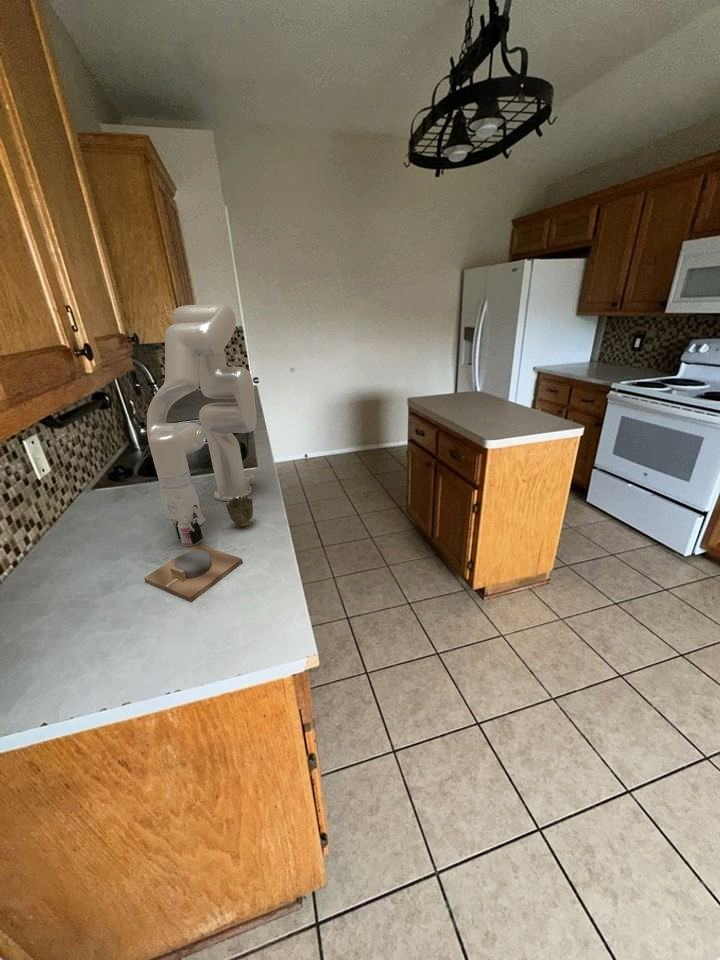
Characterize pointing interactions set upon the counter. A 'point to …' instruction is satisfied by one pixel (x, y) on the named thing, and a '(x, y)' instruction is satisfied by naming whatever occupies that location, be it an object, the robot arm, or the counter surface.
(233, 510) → the dark rounded piece
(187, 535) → the pill bottle
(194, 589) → the board
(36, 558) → the counter surface
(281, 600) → the counter surface
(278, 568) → the counter surface
